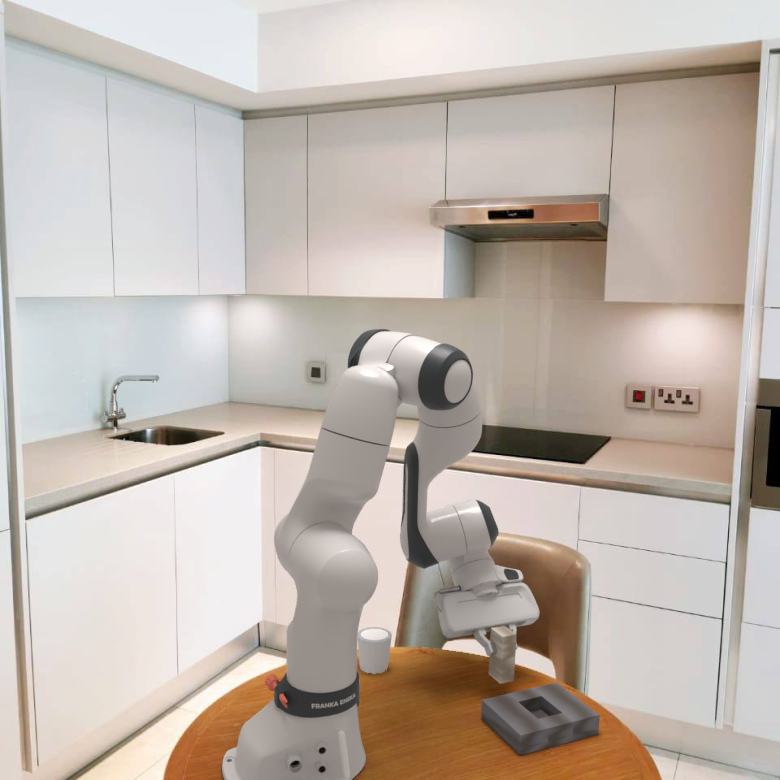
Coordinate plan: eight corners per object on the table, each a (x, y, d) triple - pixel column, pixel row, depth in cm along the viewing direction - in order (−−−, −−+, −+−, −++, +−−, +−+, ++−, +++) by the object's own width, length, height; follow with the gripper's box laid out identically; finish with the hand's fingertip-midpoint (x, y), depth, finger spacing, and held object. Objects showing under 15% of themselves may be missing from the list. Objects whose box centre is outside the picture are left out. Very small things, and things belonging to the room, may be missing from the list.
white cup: (390, 659, 159) (391, 626, 158) (391, 675, 152) (392, 641, 151) (356, 659, 159) (357, 626, 158) (356, 675, 152) (357, 641, 151)
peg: (500, 683, 143) (502, 636, 142) (488, 673, 146) (490, 627, 145) (513, 680, 144) (516, 634, 143) (502, 671, 148) (504, 625, 146)
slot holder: (519, 755, 127) (520, 735, 126) (481, 718, 137) (481, 699, 137) (598, 734, 133) (599, 714, 133) (555, 700, 144) (556, 682, 144)
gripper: (436, 582, 145) (460, 655, 138) (528, 570, 154) (555, 637, 146) (424, 597, 150) (447, 667, 142) (514, 583, 158) (540, 650, 151)
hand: (502, 652), depth 144 cm, fingers closed on peg, 3 cm apart
